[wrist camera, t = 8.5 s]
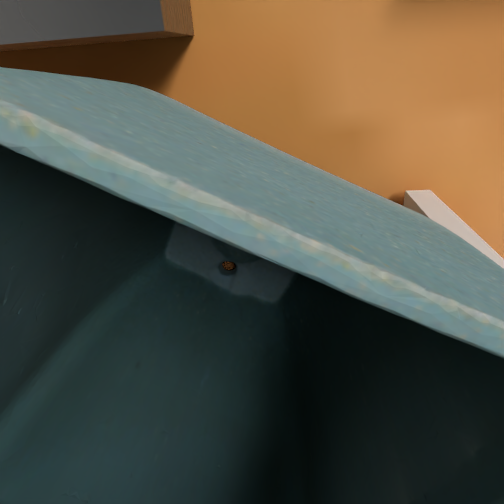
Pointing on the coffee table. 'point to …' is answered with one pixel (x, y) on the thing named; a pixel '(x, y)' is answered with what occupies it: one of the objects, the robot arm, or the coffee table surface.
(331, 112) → the coffee table surface
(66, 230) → the flower pot
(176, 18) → the breaker panel
